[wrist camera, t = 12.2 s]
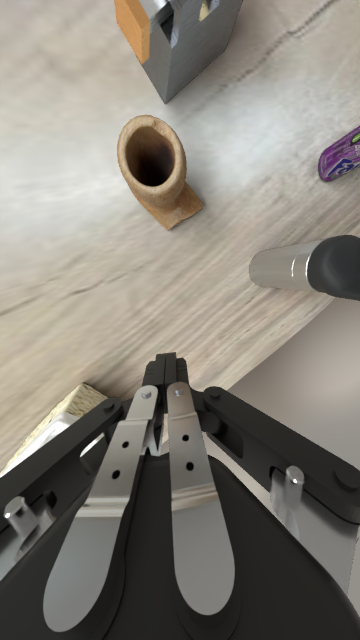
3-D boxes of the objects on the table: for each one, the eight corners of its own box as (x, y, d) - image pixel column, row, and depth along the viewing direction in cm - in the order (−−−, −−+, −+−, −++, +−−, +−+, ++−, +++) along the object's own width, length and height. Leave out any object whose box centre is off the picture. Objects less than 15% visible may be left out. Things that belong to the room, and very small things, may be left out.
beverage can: (310, 171, 43) (370, 134, 31) (326, 141, 42) (394, 91, 30) (328, 188, 45) (391, 160, 33) (344, 160, 44) (414, 121, 32)
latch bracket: (165, 104, 34) (176, 8, 22) (136, 55, 32) (130, -84, 19) (225, 49, 34) (271, -79, 21) (200, -4, 31) (237, -185, 19)
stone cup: (113, 188, 36) (92, 133, 22) (153, 145, 35) (158, 59, 21) (165, 246, 41) (176, 232, 27) (201, 209, 40) (232, 173, 26)
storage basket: (83, 374, 45) (56, 420, 31) (132, 406, 50) (127, 458, 36) (21, 437, 46) (-32, 509, 32) (75, 462, 51) (49, 534, 37)
